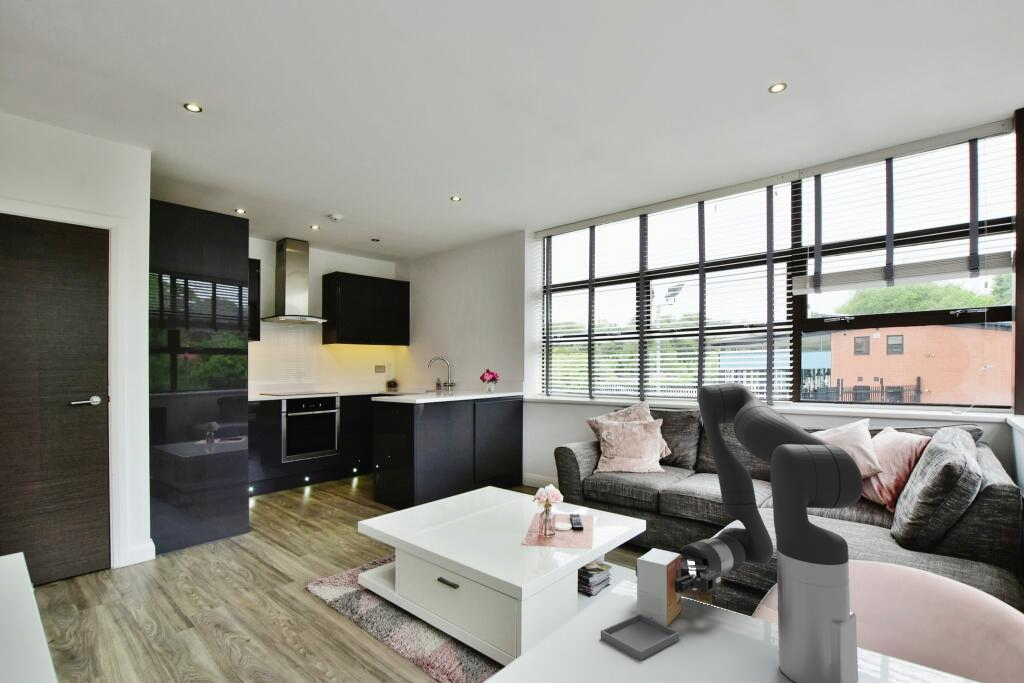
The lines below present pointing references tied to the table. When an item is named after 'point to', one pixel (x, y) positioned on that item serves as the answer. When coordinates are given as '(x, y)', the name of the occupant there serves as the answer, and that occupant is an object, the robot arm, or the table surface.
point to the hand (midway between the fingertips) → (656, 579)
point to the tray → (640, 636)
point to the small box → (658, 585)
